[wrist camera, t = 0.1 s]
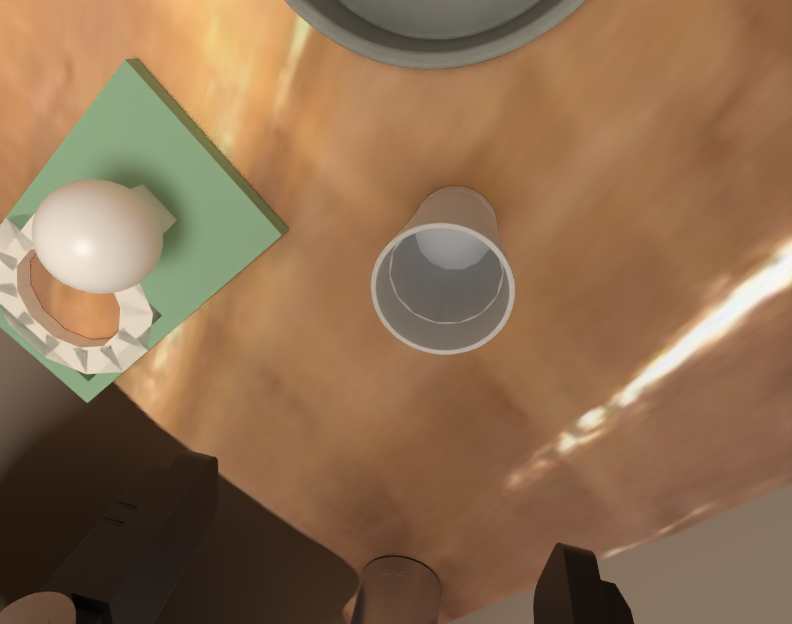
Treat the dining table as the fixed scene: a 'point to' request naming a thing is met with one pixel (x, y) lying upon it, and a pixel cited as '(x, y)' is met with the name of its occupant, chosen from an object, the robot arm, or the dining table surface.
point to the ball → (97, 236)
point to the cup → (445, 275)
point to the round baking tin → (433, 27)
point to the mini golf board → (172, 203)
